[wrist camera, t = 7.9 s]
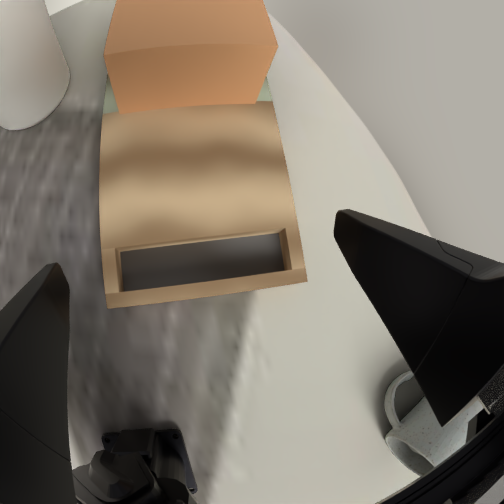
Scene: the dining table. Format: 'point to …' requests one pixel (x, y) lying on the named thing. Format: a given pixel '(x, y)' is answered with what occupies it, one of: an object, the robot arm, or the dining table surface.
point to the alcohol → (29, 64)
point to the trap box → (195, 203)
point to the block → (188, 53)
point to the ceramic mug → (424, 432)
